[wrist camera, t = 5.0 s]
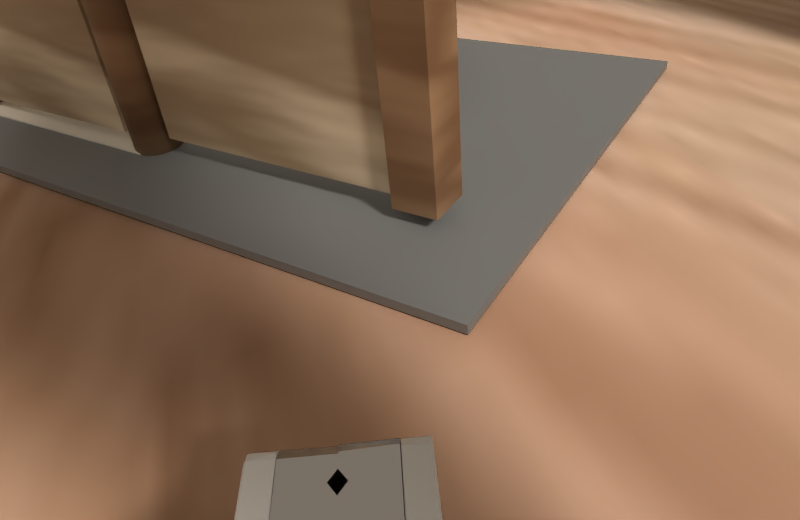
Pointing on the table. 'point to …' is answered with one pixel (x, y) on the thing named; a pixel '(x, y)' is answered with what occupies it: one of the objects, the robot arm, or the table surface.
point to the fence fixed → (81, 67)
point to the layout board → (362, 207)
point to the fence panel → (315, 88)
